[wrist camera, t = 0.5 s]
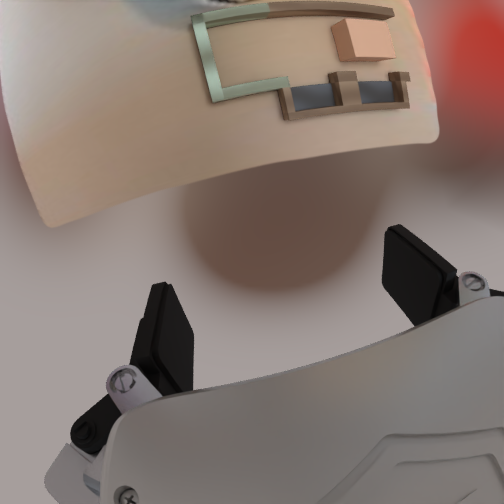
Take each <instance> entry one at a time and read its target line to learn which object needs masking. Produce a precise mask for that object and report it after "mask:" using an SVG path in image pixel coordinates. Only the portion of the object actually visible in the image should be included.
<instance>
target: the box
mask: <svg viewBox="0 0 504 504" xmlns="http://www.w3.org/2000/svg"><path fill="white" fill-rule="evenodd" d="M311 15H327V16H351V17H364V18H373V19H381V20H386V19H389V18H391V17H394V16H395V15H394V12H393V9H392V8H387V7H381V6H374V5H366V4H358V3H347V2H331V1H288V2H272V3H261V4H252V5H245V6H238V7H231V8H226V9H220V10H215V11H210V12H206V13H201V14H197V15H193V16H191V20H192V24H193V28H194V32H195V36H196V40H197V44H198V48H199V51H200V55H201V59H202V63H203V67H204V71H205V75H206V79H207V82H208V86H209V90H210V94H211V98H212V102H213V103H216V102H220V101H224V100H228V99H233V98H237V97H242V96H246V95H251V94H256V93H262V92H267V91H273V90H278V94H279V99H280V103H281V108H282V112H283V117H284V120H294V119H300V118H307V117H313V116H320V115H328V114H336V113H345V112H355V111H366V110H381V109H404V108H410V105H409V98H408V92H407V85H406V81H410V76H409V72H392V73H389V78H390V81H366V82H358V81H357V76H356V71H342V72H334V73H330V74H328V76H329V80H330V83H328V84H317V85H308V86H300V87H292V88H290V84H289V80H288V76H286V77H279V78H272V79H266V80H260V81H255V82H249V83H244V84H240V85H235V86H230V87H226V88H222V87H221V83H220V79H219V76H218V72H217V68H216V64H215V60H214V56H213V52H212V48H211V45H210V41H209V37H208V33H207V29H206V28H210V27H215V26H220V25H225V24H230V23H236V22H242V21H249V20H256V19H264V18H274V17H287V16H311Z"/></svg>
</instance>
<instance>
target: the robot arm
mask: <svg viewBox="0 0 504 504" xmlns="http://www.w3.org/2000/svg"><path fill="white" fill-rule="evenodd" d="M456 273H457V269H456V268H455V267H453V266H452V265H451V264H450V263H449V262H448V261H447V260H445V259H444V258H443V257H442V256H440V255H439V254H438V253H437V252H436V251H434V250H433V249H432V248H431V247H429V246H428V245H427V244H426V243H424V242H423V241H422V240H421V239H419V238H418V237H417V236H415V235H414V234H413V233H411V232H410V231H409V230H408V229H406V228H405V227H403V226H402V225H400V224H398V225H394V226H390V227H388V229H387V231H386V232H385V238H384V257H383V271H382V284H383V287H384V288H385V290H386V291H387V292H388V293H389V294H390V296H391V297H392V298H393V299H394V301H395V302H396V303H397V304H398V306H399V307H400V308H401V309H402V311H403V312H404V313H405V314H406V316H407V317H408V318H409V320H410V321H411V322H412V324H413V325H414V326H415V327H413V328H411V329H408V330H406V331H404V332H401V333H399V334H396V335H394V336H391V337H389V338H386V339H384V340H381V341H378V342H375V343H373V344H370V345H368V346H365V347H362V348H359V349H356V350H354V351H351V352H347V353H344V354H341V355H338V356H335V357H332V358H329V359H326V360H323V361H320V362H316V363H313V364H309V365H306V366H302V367H298V368H295V369H291V370H288V371H284V372H280V373H276V374H272V375H267V376H263V377H259V378H255V379H250V380H246V381H240V382H236V383H231V384H226V385H221V386H215V387H210V388H205V389H198V390H193V358H194V357H193V356H194V333H193V330H192V328H191V326H190V324H189V321H188V319H187V317H186V315H185V313H184V311H183V309H182V306H181V304H180V302H179V300H178V298H177V295H176V293H175V291H174V288H173V286H172V285H171V284H167V283H166V282H162V283H157V284H153V285H152V287H151V291H150V294H149V298H148V302H147V306H146V309H145V313H144V317H143V318H142V319H141V320H140V323H139V326H138V330H137V334H136V338H135V342H134V346H133V351H132V355H131V359H130V364H129V365H124V366H120V367H118V368H117V369H115V370H114V371H113V372H112V373H111V374H110V375H109V377H108V379H107V382H106V389H107V392H108V394H107V395H106V396H105V397H103V398H102V399H101V400H100V401H99V402H97V403H96V404H95V405H94V406H93V407H92V408H90V409H89V410H88V411H87V412H86V413H85V414H83V415H82V416H81V417H80V418H79V419H77V420H76V422H75V423H74V424H73V426H72V428H71V432H70V435H71V440H72V442H71V443H70V445H69V444H68V443H66V444H65V446H64V448H63V449H62V450H61V452H60V453H59V455H58V456H57V458H56V459H55V461H54V462H53V464H52V465H51V467H50V468H49V470H48V471H47V473H46V475H45V479H44V480H45V481H44V483H45V487H46V489H47V490H48V492H49V493H50V494H51V495H52V496H53V497H54V499H55V500H56V501H57V502H58V503H59V504H504V292H501V291H497V290H493V289H489V286H488V282H487V280H486V279H485V278H484V277H483V276H481V275H480V274H478V273H475V272H464V273H462V274H461V275H460V276H459V277H458V276H456Z"/></svg>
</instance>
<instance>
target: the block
mask: <svg viewBox="0 0 504 504" xmlns="http://www.w3.org/2000/svg"><path fill="white" fill-rule="evenodd" d="M331 29H332V32H333V36H334V40H335V43H336V47H337V51H338V55H339V59H340V61H382V60H387V59H393V58H396V55H395V51H394V47H393V43H392V39H391V35H390V32H389V28H388V25H387V22H383V21H374V20H363V19H347V18H345V19H343V20H342V21H340V22H338V23H337V24H335V25H333V26H332V27H331Z"/></svg>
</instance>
